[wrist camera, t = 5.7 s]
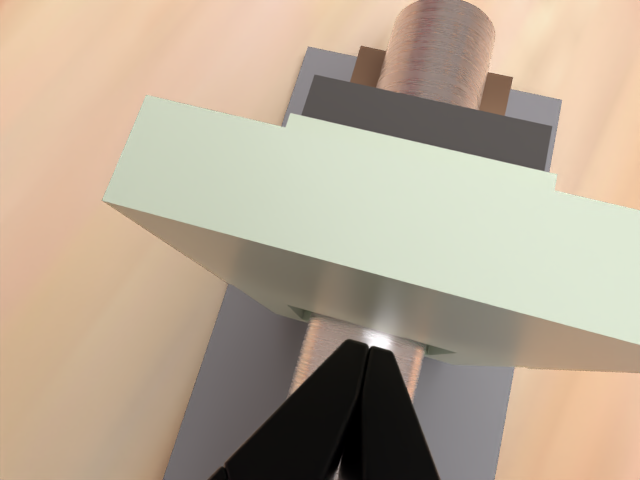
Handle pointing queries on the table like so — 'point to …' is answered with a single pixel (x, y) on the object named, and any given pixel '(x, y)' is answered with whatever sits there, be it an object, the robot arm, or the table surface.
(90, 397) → the table surface
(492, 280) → the pale green stepped block
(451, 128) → the dark grey rectangular block
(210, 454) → the pipe rig
